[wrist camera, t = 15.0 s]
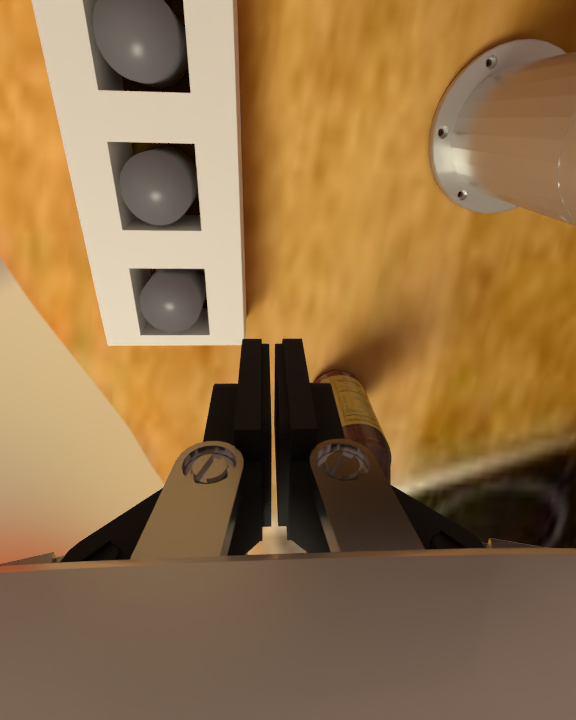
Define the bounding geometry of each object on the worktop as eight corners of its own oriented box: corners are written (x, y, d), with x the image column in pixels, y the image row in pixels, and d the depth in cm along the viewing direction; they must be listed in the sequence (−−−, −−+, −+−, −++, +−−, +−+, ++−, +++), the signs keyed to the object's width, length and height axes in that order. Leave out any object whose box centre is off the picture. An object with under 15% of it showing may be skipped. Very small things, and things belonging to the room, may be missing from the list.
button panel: (236, -19, 29) (231, -48, 24) (246, 317, 42) (244, 345, 37) (62, -27, 29) (18, -59, 24) (126, 317, 42) (107, 345, 37)
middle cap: (197, 147, 34) (186, 152, 29) (202, 211, 36) (193, 225, 31) (134, 146, 33) (113, 150, 29) (144, 211, 36) (126, 224, 31)
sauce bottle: (336, 420, 50) (375, 578, 33) (297, 393, 48) (316, 548, 30) (375, 384, 48) (439, 534, 30) (336, 354, 45) (381, 498, 28)
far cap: (206, 257, 38) (197, 276, 33) (209, 307, 41) (202, 332, 36) (150, 256, 38) (134, 276, 33) (158, 307, 40) (144, 332, 36)
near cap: (186, 3, 29) (171, -19, 24) (193, 88, 32) (180, 83, 27) (113, 0, 29) (84, -23, 24) (126, 86, 31) (101, 80, 27)
